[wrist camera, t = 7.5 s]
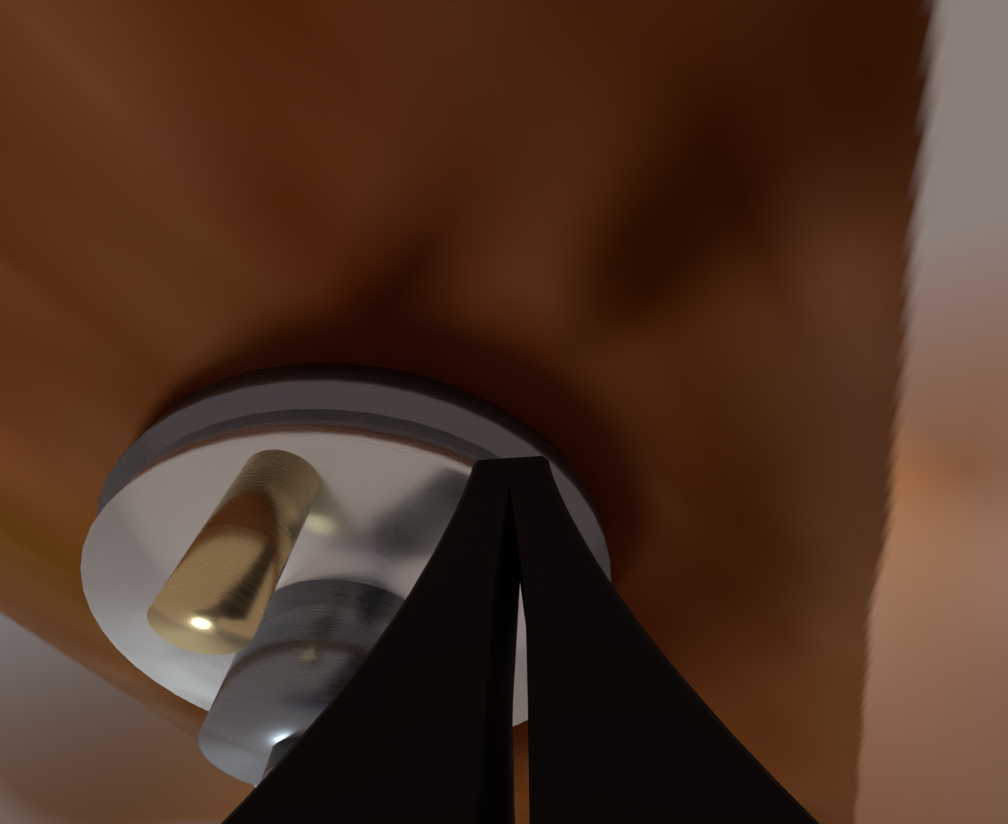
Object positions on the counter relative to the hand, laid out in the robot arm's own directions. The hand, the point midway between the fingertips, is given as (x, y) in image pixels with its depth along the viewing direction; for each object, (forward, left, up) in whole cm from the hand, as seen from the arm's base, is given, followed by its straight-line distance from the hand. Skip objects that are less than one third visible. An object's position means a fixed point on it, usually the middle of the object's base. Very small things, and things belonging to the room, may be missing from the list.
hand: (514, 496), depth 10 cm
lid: (-6, +5, -1) cm, 8 cm away
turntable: (-6, +5, -2) cm, 8 cm away
